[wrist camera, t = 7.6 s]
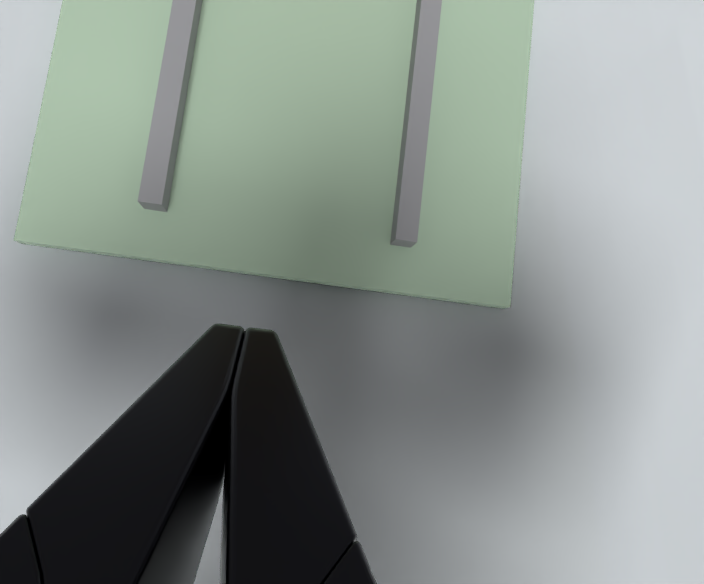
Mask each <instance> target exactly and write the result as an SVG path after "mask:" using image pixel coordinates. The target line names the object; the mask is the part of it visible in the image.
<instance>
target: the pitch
mask: <svg viewBox="0 0 704 584" xmlns="http://www.w3.org/2000/svg"><path fill="white" fill-rule="evenodd" d="M533 9H534V0H63V2H62V6H61V11H60V16H59V21H58V26H57V31H56V36H55V41H54V46H53V50H52V55H51V60H50V65H49V70H48V75H47V80H46V85H45V90H44V95H43V99H42V104H41V109H40V114H39V119H38V124H37V129H36V134H35V139H34V143H33V148H32V153H31V158H30V163H29V168H28V173H27V178H26V183H25V188H24V192H23V197H22V202H21V207H20V212H19V217H18V222H17V227H16V232H15V236H14V240H15V241H17V242H19V243H21V244H27V245H35V246H42V247H50V248H57V249H64V250H72V251H79V252H87V253H94V254H102V255H109V256H116V257H124V258H131V259H139V260H146V261H153V262H161V263H168V264H176V265H183V266H190V267H198V268H205V269H213V270H220V271H228V272H235V273H242V274H250V275H257V276H265V277H272V278H279V279H287V280H294V281H302V282H309V283H316V284H324V285H331V286H339V287H346V288H354V289H361V290H368V291H376V292H383V293H391V294H398V295H405V296H413V297H420V298H428V299H435V300H443V301H450V302H457V303H465V304H472V305H480V306H487V307H494V308H502V309H505V308H510V304H511V292H512V279H513V266H514V253H515V240H516V227H517V215H518V202H519V189H520V176H521V163H522V150H523V137H524V125H525V112H526V99H527V86H528V73H529V60H530V48H531V35H532V22H533Z"/></svg>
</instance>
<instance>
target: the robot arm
mask: <svg viewBox="0 0 704 584" xmlns="http://www.w3.org/2000/svg"><path fill="white" fill-rule="evenodd" d="M224 474H225V475H224ZM223 479H224V490H223V505H222V530H221V555H220V579H219V584H377V583H376V581H375V579H374V576H373V574H372V572H371V569H370V567H369V564H368V562H367V559H366V557H365V554H364V552H363V549H362V546H361V544H360V543H359V542H358V541H356V539H357V535H356V532H355V530H354V527H353V525H352V522H351V520H350V517H349V515H348V512H347V509H346V507H345V504H344V502H343V499H342V497H341V494H340V492H339V489H338V487H337V484H336V482H335V479H334V477H333V474H332V472H331V469H330V467H329V464H328V461H327V459H326V456H325V454H324V451H323V449H322V446H321V444H320V441H319V439H318V436H317V434H316V431H315V429H314V426H313V424H312V421H311V419H310V416H309V413H308V411H307V408H306V406H305V403H304V401H303V398H302V396H301V393H300V391H299V388H298V386H297V383H296V381H295V378H294V376H293V373H292V371H291V368H290V366H289V363H288V360H287V358H286V355H285V353H284V350H283V348H282V345H281V343H280V340H279V338H278V335H277V334H276V332H274V331H273V330H266V329H258V328H248V329H246V331H244V329H243V328H242V327H240V326H234V325H225V324H215V325H213V326H211V327H210V328H209V329H208V330H207V331H206V332H205V333H204V334H203V335H202V336H201V337H200V338H199V339H198V340H197V341H196V342H195V343H194V344H193V345H192V346H191V347H190V348H189V349H188V350H187V351H186V352H185V353H184V354H183V355H182V356H181V357H180V358H179V359H178V360H177V361H176V362H175V363H174V364H173V365H172V366H171V367H170V368H169V369H168V370H167V371H166V372H165V373H164V374H163V375H162V376H161V377H160V378H159V379H158V380H157V381H156V382H155V383H154V384H153V385H152V386H151V387H150V388H149V389H148V390H147V391H146V392H145V393H143V394H142V395H141V396H140V397H139V398H138V399H137V400H136V401H135V402H134V403H133V404H132V405H131V406H130V407H129V408H128V409H127V410H126V411H125V412H124V413H123V414H122V415H121V416H120V417H119V418H118V419H117V420H116V421H115V422H114V423H113V424H112V425H111V426H110V427H109V428H108V429H107V430H106V431H105V432H104V433H103V434H102V435H101V436H100V437H99V438H98V439H97V440H96V441H95V442H94V443H93V444H92V445H91V446H90V447H89V448H88V449H87V450H86V451H85V452H84V453H83V454H82V455H81V456H80V457H79V458H78V459H77V460H76V461H75V462H74V463H73V464H72V465H71V466H70V467H69V468H68V469H67V470H66V471H65V472H63V473H62V474H61V475H60V476H59V477H58V478H57V479H56V480H55V481H54V482H53V483H52V484H51V485H50V486H49V487H48V488H47V489H46V490H45V491H44V492H43V493H42V494H41V495H40V496H39V497H38V498H37V499H36V500H35V501H34V502H33V503H32V504H31V505H30V506H29V507H28V508H27V510H26V513H27V516H26V515H24V514H22V515H20V516H18V517H17V518H16V519H15V520H14V521H13V522H12V523H11V524H10V525H9V526H8V527H7V528H6V529H5V530H4V531H3V532H2V533H1V534H0V584H193V583H194V580H195V577H196V573H197V570H198V567H199V563H200V560H201V557H202V553H203V550H204V547H205V543H206V540H207V537H208V533H209V530H210V527H211V523H212V520H213V517H214V513H215V510H216V507H217V503H218V500H219V496H220V492H221V488H222V484H223Z"/></svg>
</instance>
